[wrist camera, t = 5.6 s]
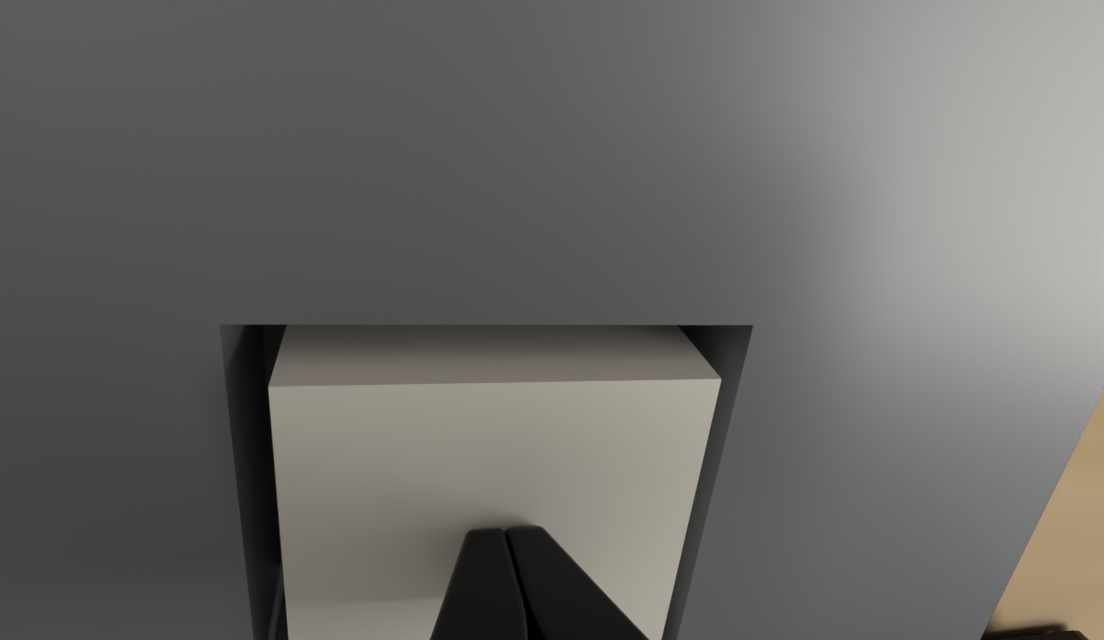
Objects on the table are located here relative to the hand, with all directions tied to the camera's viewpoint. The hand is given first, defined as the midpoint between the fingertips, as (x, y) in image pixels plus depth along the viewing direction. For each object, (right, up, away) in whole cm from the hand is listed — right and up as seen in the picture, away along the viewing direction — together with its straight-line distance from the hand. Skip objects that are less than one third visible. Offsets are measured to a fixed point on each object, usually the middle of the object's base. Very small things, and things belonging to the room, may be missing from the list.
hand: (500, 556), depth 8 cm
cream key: (0, +1, +2) cm, 2 cm away
